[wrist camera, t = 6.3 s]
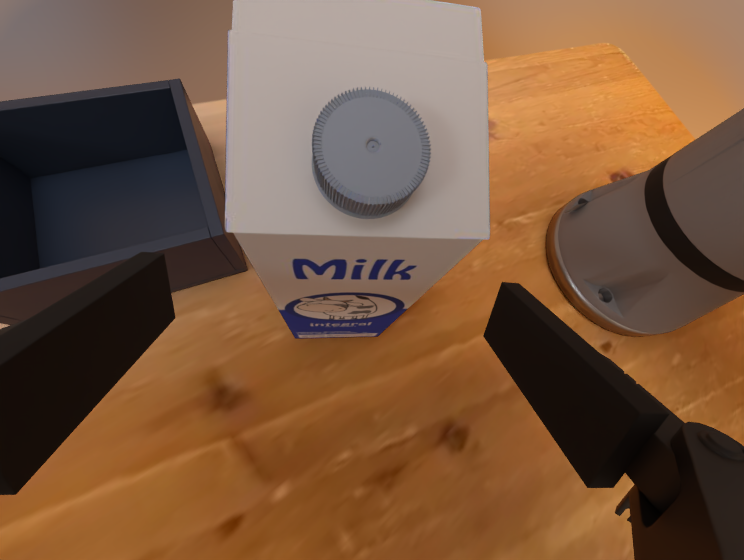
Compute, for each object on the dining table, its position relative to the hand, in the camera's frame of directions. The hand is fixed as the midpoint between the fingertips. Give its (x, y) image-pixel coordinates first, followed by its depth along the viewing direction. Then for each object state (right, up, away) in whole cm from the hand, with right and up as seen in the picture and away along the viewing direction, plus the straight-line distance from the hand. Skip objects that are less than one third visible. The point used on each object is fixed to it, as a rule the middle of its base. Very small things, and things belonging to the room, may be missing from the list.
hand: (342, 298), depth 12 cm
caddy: (-18, +5, +13) cm, 23 cm away
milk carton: (-2, -1, +14) cm, 14 cm away
